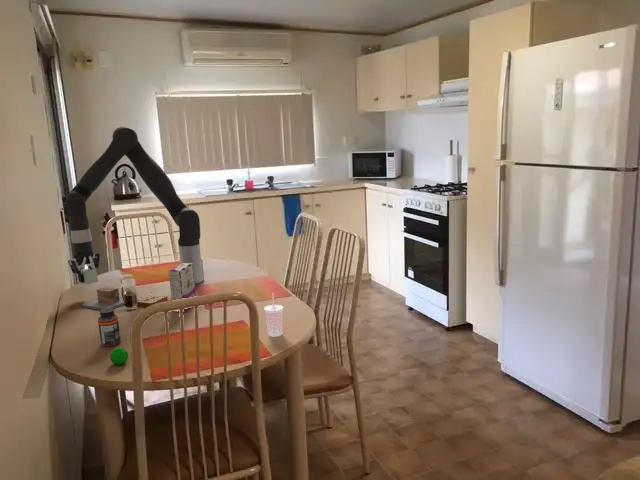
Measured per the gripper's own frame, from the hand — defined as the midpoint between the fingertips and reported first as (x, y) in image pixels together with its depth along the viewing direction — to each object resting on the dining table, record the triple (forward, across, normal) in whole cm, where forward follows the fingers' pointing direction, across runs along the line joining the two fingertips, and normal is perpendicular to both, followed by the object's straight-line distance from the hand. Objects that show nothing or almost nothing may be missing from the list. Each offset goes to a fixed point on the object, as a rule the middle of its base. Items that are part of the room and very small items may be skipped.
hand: (87, 280), depth 219 cm
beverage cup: (+8, -5, -94) cm, 94 cm away
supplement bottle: (+8, -32, -49) cm, 59 cm away
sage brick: (+1, 0, 0) cm, 1 cm away
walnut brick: (+7, -2, -14) cm, 16 cm away
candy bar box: (+8, +5, -47) cm, 48 cm away
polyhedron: (+8, -42, -64) cm, 77 cm away
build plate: (+8, -2, -14) cm, 16 cm away
